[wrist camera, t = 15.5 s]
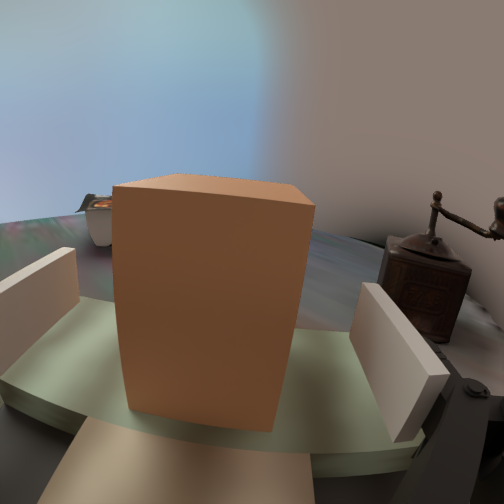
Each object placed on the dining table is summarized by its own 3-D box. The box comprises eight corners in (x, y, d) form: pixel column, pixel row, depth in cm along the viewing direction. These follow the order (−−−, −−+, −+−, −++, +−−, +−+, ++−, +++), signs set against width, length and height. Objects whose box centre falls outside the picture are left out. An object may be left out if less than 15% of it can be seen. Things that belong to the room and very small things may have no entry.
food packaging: (73, 208, 45) (90, 191, 64) (74, 252, 47) (90, 222, 67) (219, 210, 54) (193, 192, 74) (215, 251, 56) (191, 223, 76)
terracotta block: (128, 408, 15) (112, 185, 12) (172, 325, 25) (177, 173, 21) (271, 432, 15) (315, 205, 12) (270, 338, 25) (293, 185, 21)
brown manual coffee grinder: (367, 331, 33) (403, 168, 28) (371, 296, 43) (396, 170, 38) (484, 355, 28) (530, 203, 23) (465, 317, 38) (496, 196, 32)
